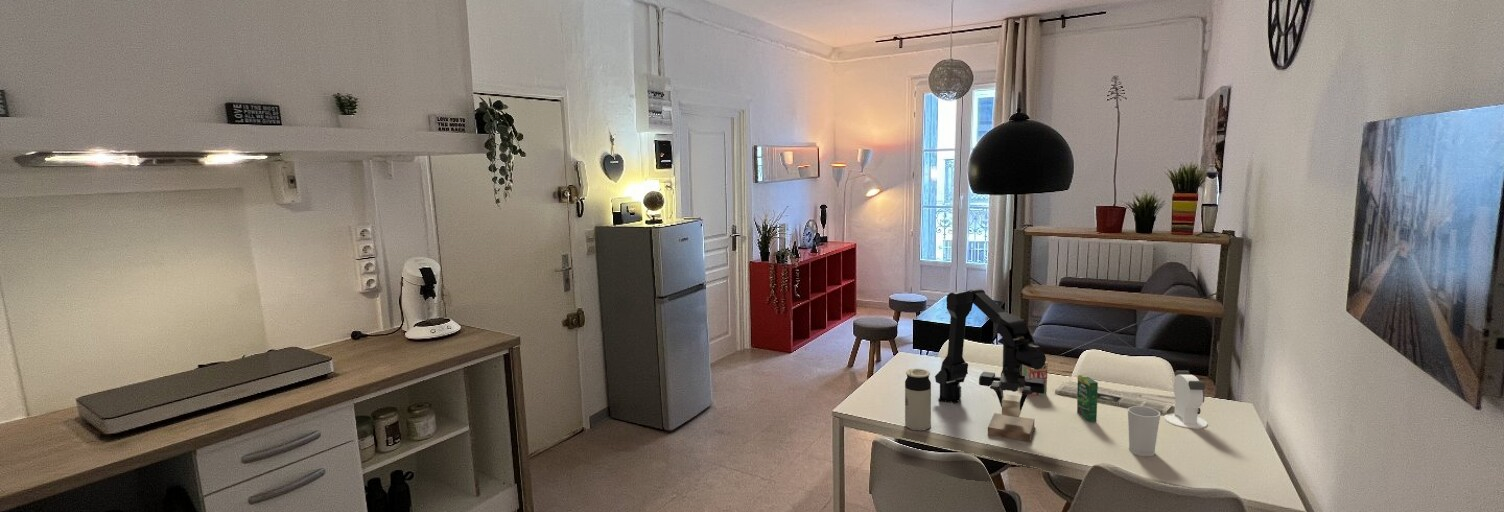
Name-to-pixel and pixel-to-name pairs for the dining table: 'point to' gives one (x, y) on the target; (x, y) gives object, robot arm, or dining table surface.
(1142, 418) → the cup
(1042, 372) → the stack of blocks
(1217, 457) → the dining table surface
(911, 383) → the travel mug
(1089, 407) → the coffee box
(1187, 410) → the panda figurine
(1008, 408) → the maple cube
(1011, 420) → the walnut base slab
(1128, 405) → the newspaper
